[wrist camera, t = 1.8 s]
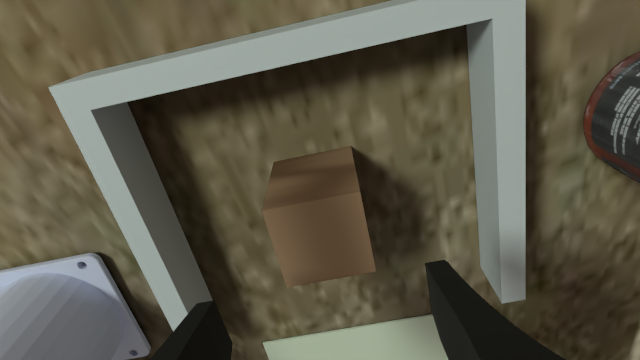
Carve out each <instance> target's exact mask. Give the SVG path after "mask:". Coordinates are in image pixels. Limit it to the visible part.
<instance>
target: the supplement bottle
mask: <svg viewBox="0 0 640 360" xmlns="http://www.w3.org/2000/svg"><path fill="white" fill-rule="evenodd" d="M583 126H584V134H585V137H586V140H587V143H588V145H589V147H590V148H591V150H592V151H593V153H594V154H595V155H596V156H597V157H599V158H600V159H601V160H603V161H604V162H605V163H607V164H609V165H610V166H611V167H613V168H615V169H617V170H618V171H620V172H621V173H623V174H625V175H627V176H628V177H630V178H631V179H633V180H635V181H637V182H639V183H640V52H638V53H635V54H633V55H631V56H629V57H627V58H626V59H624V60H623V61H621V62H619V63H618V64H617V65H616V66H615V67H613V68H612V69H611V70H610V71H609V72H608V73H607V74H606V75H605V76H604V77H603V79H602V80H601V81H600V82H599V84H598V85H597V86H596V88H595V89H594V91H593V93H592V95H591V96H590V99H589V101H588V104H587V107H586V109H585V113H584V119H583Z"/></svg>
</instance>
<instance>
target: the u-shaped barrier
mask: <svg viewBox="0 0 640 360" xmlns="http://www.w3.org/2000/svg"><path fill="white" fill-rule="evenodd" d="M461 25H466V28H467V45H468V62H469V79H470V96H471V113H472V130H473V147H474V163H475V180H476V197H477V214H478V231H479V248H480V265H481V269H482V270H483V272H484V274H485V275H486V277H487V279H488V281H489V282H490V284H491V286H492V288H493V289H494V291H495V293H496V294H497V296H498V298H499V300H500V301H501V303H508V302H514V301H520V300H526V0H392V1H388V2H384V3H379V4H375V5H371V6H367V7H363V8H358V9H354V10H350V11H346V12H341V13H337V14H333V15H329V16H325V17H320V18H316V19H312V20H308V21H303V22H299V23H295V24H291V25H287V26H282V27H278V28H274V29H270V30H266V31H261V32H257V33H253V34H249V35H244V36H240V37H236V38H232V39H228V40H223V41H219V42H215V43H211V44H206V45H202V46H198V47H194V48H190V49H185V50H181V51H177V52H173V53H168V54H164V55H160V56H156V57H152V58H147V59H143V60H139V61H135V62H130V63H126V64H122V65H118V66H114V67H109V68H105V69H101V70H97V71H92V72H88V73H85V74H83V75H80V76H77V77H75V78H72V79H69V80H67V81H64V82H61V83H59V84H56V85H54V86H51V87H48V88H49V90H50V92H51V94H52V95H53V97H54V99H55V101H56V103H57V105H58V107H59V109H60V111H61V113H62V115H63V117H64V119H65V121H66V123H67V125H68V127H69V129H70V131H71V133H72V135H73V137H74V139H75V140H76V142H77V144H78V146H79V148H80V150H81V152H82V154H83V156H84V158H85V160H86V162H87V164H88V166H89V168H90V170H91V172H92V174H93V176H94V178H95V180H96V182H97V184H98V185H99V187H100V189H101V191H102V193H103V195H104V197H105V199H106V201H107V203H108V205H109V207H110V209H111V211H112V213H113V215H114V217H115V219H116V221H117V223H118V225H119V227H120V229H121V230H122V232H123V234H124V236H125V238H126V240H127V242H128V244H129V246H130V248H131V250H132V252H133V254H134V256H135V258H136V260H137V262H138V264H139V266H140V268H141V270H142V272H143V274H144V275H145V277H146V279H147V281H148V283H149V285H150V287H151V289H152V291H153V293H154V295H155V297H156V299H157V301H158V303H159V305H160V307H161V309H162V311H163V313H164V315H165V317H166V318H167V320H168V322H169V324H170V326H171V328H172V330H173V332H174V330H175V329H176V328H177V327H178V325H179V324H180V323H181V322H182V320H183V319H184V318H185V317H186V316H187V314H188V313H189V312H190V311H191V309H192V308H193V307H194V306H195V305H196V304H197V303H201V302H207V301H213V299H212V297H211V295H210V292H209V290H208V288H207V285H206V283H205V281H204V279H203V276H202V274H201V272H200V269H199V267H198V265H197V262H196V260H195V258H194V255H193V253H192V251H191V249H190V246H189V244H188V242H187V239H186V237H185V235H184V232H183V230H182V228H181V225H180V223H179V221H178V219H177V216H176V214H175V212H174V209H173V207H172V205H171V202H170V200H169V198H168V196H167V193H166V191H165V189H164V186H163V184H162V182H161V179H160V177H159V175H158V172H157V170H156V168H155V166H154V163H153V161H152V159H151V156H150V154H149V152H148V149H147V147H146V145H145V142H144V140H143V138H142V136H141V133H140V131H139V129H138V126H137V124H136V122H135V119H134V117H133V115H132V113H131V110H130V108H129V106H128V103H127V102H128V101H132V100H137V99H141V98H146V97H150V96H154V95H159V94H163V93H167V92H172V91H176V90H181V89H185V88H189V87H194V86H198V85H203V84H207V83H211V82H216V81H220V80H224V79H229V78H233V77H238V76H242V75H246V74H251V73H255V72H260V71H264V70H268V69H273V68H277V67H282V66H286V65H290V64H295V63H299V62H303V61H308V60H312V59H317V58H321V57H325V56H330V55H334V54H339V53H343V52H347V51H352V50H356V49H361V48H365V47H369V46H374V45H378V44H382V43H387V42H391V41H396V40H400V39H404V38H409V37H413V36H418V35H422V34H426V33H431V32H435V31H439V30H444V29H448V28H453V27H457V26H461Z"/></svg>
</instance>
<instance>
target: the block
mask: <svg viewBox="0 0 640 360" xmlns="http://www.w3.org/2000/svg"><path fill="white" fill-rule="evenodd" d="M262 213H263V216H264V219H265V222H266V225H267V228H268V231H269V234H270V237H271V241H272V244H273V247H274V250H275V253H276V256H277V259H278V262H279V265H280V268H281V271H282V274H283V277H284V280H285V283H286V286H287V287H292V286H298V285H303V284H309V283H315V282H320V281H326V280H331V279H337V278H343V277H348V276H354V275H360V274H365V273H371V272H376V268H375V263H374V258H373V253H372V248H371V243H370V238H369V233H368V228H367V223H366V218H365V213H364V208H363V203H362V198H361V193H360V188H359V183H358V178H357V173H356V168H355V163H354V159H353V154H352V149H351V146H349V147H344V148H339V149H334V150H330V151H325V152H320V153H315V154H310V155H305V156H301V157H296V158H291V159H286V160H281V161H277V162H274V164H273V168H272V172H271V176H270V180H269V184H268V188H267V192H266V196H265V200H264V204H263V208H262Z"/></svg>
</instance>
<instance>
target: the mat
mask: <svg viewBox="0 0 640 360" xmlns="http://www.w3.org/2000/svg"><path fill="white" fill-rule="evenodd" d="M263 345H264V348H265V350H266V353H267V356H268V358H269V360H448V357H447V355H446V352H445V350H444V348H443V345H442V343H441V340H440V337H439V334H438V331H437V328H436V324H435V321H434V317H433V314H429V315H423V316H417V317H411V318H405V319H399V320H393V321H387V322H381V323H375V324H369V325H363V326H357V327H351V328H345V329H339V330H333V331H327V332H321V333H315V334H309V335H303V336H297V337H291V338H284V339H278V340H272V341H266V342H263Z"/></svg>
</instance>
